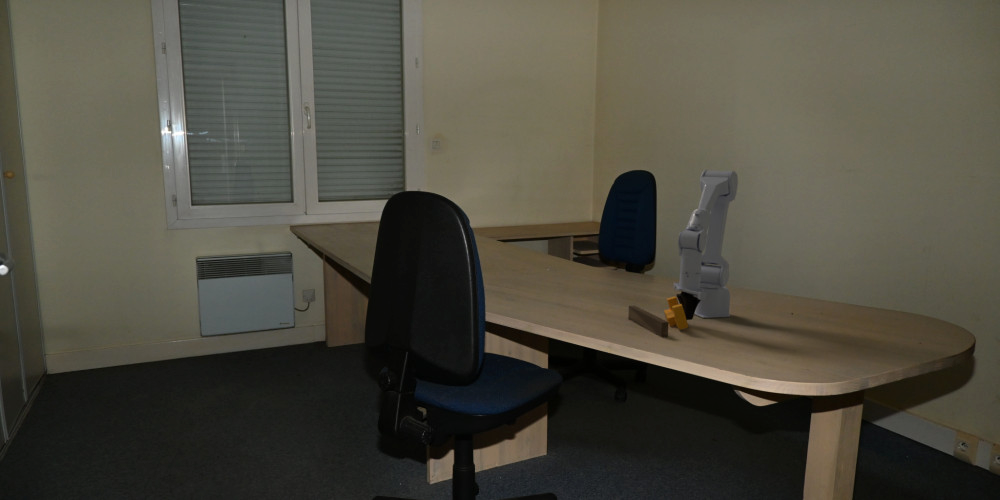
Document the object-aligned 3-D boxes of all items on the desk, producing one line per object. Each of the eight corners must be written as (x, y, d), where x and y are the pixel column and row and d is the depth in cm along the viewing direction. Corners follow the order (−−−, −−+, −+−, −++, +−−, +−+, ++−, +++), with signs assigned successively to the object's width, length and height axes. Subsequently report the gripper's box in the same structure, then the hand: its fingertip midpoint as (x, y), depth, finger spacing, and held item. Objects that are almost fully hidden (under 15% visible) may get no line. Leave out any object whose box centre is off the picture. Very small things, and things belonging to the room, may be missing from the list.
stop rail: (634, 318, 198) (635, 305, 198) (667, 336, 179) (668, 322, 178) (628, 319, 198) (628, 305, 197) (661, 337, 179) (661, 322, 178)
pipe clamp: (666, 320, 196) (660, 300, 196) (681, 316, 196) (675, 296, 195) (673, 331, 184) (666, 309, 184) (688, 327, 184) (682, 305, 183)
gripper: (665, 268, 195) (662, 313, 197) (691, 277, 181) (688, 326, 183) (686, 267, 197) (684, 312, 198) (714, 276, 183) (711, 324, 185)
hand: (687, 319), depth 191 cm, fingers closed
